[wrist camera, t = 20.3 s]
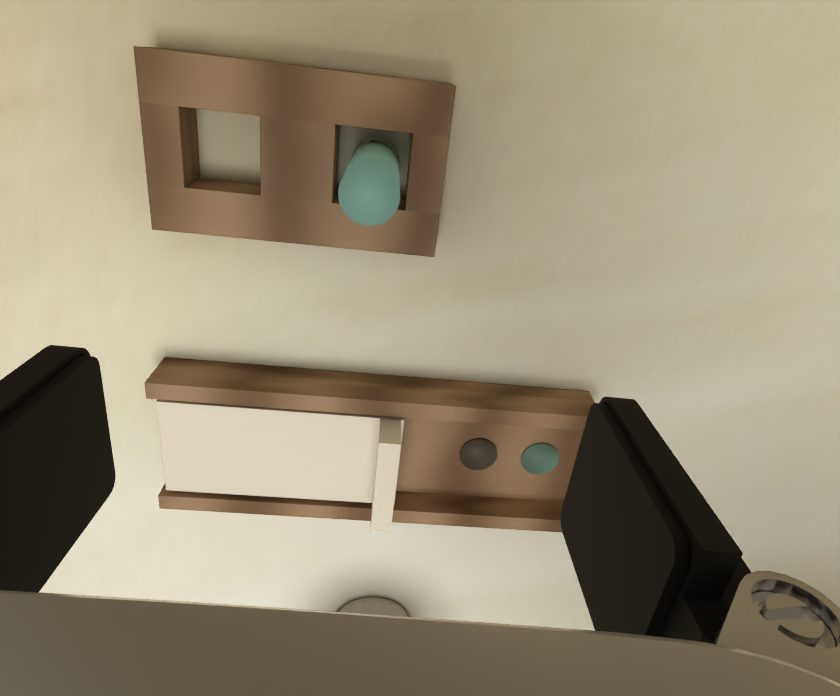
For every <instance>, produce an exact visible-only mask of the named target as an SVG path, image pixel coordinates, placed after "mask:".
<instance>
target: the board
mask: <svg viewBox="0 0 840 696" xmlns="http://www.w3.org/2000/svg"><path fill="white" fill-rule="evenodd" d="M145 391H146V398H148V399H161V400H174V401H188V402H201V403H215V404H228V405H242V406H255V407H269V408H282V409H295V410H309V411H322V412H336V413H349V414H363V415H376V416H389V417H403V418H404V426H403V435H402V443H401V452H400V460H399V469H398V477H397V486H396V494H395V502H394V508H393V517H392V522H399V523H416V524H432V525H449V526H466V527H483V528H500V529H516V530H533V531H550V532H562V529H561V522H560V517H561V510H562V506H563V502H564V499H565V495H566V492H567V488H568V484H569V481H570V477H571V474H572V470H573V467H574V463H575V459H576V456H577V452H578V449H579V445H580V442H581V438H582V434H583V431H584V427H585V424H586V420H587V417H588V413H589V410H590V407H591V405H592V404H593V403H595V402H594V400H593V399H592V397H591V395H590V393H589V392H588V391H577V390H565V389H552V388H540V387H527V386H515V385H502V384H490V383H477V382H465V381H452V380H440V379H427V378H415V377H403V376H390V375H378V374H365V373H353V372H340V371H328V370H315V369H303V368H290V367H278V366H265V365H253V364H240V363H228V362H216V361H203V360H191V359H178V358H166V357H165V358H164V359H163V360H162V361H161V363H160V364H159V365H158V366H157V368H156V369H155V370H154V371H153V373H152V374H151V375H150V377H149V378H148V379H147V380H146V382H145ZM158 498H159V506H160V508H163V509H180V510H197V511H214V512H231V513H247V514H264V515H281V516H298V517H315V518H331V519H348V520H365V521H371V513H372V503H364V502H348V501H332V500H316V499H300V498H284V497H268V496H252V495H235V494H219V493H203V492H187V491H171V490H166V484H165V485H164V486H163V488H162V490H161V492H160V494H159V495H158Z"/></svg>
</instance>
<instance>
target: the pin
mask: <svg viewBox="0 0 840 696" xmlns="http://www.w3.org/2000/svg"><path fill="white" fill-rule="evenodd" d="M338 198H339V203H340V206H341V208H342V210H343V211H344V213H345V214H346V215H347V216H348V217H349V218H350V219H351V220H353V221H354V222H356V223H358V224H361V225H365V226H375V225H379V224H382V223H384V222H386V221H388V220H389V219H390V218H391V217H392V216H393V215H394V213H395V212H396V210H397V208H398V206H399V202H400V166H399V156H398V153H397V151H396V149H395V148H394V147H393V145H391V144H390V143H389V142H388V141H386V140H384V139H380V138H370V139H367V140H365V141H363V142H362V143H361V144H359V146H358V147H357V148H356V150H355V152H354V154H353V156H352V158H351V161H350V163H349V165H348V167H347V169H346V171H345V173H344V175H343V177H342V180H341V182H340V185H339V189H338Z"/></svg>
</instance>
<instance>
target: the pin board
mask: <svg viewBox="0 0 840 696" xmlns="http://www.w3.org/2000/svg"><path fill="white" fill-rule="evenodd" d="M134 56H135V65H136V75H137V85H138V95H139V105H140V115H141V125H142V135H143V144H144V154H145V164H146V174H147V184H148V194H149V204H150V214H151V223H152V229H153V230H163V231H173V232H183V233H194V234H204V235H214V236H224V237H235V238H245V239H255V240H265V241H276V242H286V243H296V244H306V245H317V246H327V247H337V248H347V249H358V250H368V251H378V252H388V253H399V254H409V255H419V256H429V257H434V255H435V248H436V240H437V232H438V224H439V216H440V208H441V200H442V193H443V185H444V177H445V169H446V161H447V153H448V145H449V138H450V130H451V122H452V114H453V106H454V98H455V90H456V86H455V85H453V84H448V83H440V82H432V81H423V80H415V79H407V78H399V77H391V76H383V75H375V74H366V73H358V72H350V71H342V70H334V69H326V68H317V67H309V66H301V65H293V64H285V63H277V62H268V61H260V60H252V59H244V58H236V57H228V56H220V55H211V54H203V53H195V52H187V51H179V50H171V49H162V48H154V47H137V46H134ZM196 108H197V109H206V110H215V111H224V112H232V113H241V114H250V115H258V116H260V163H261V185H257V184H247V183H238V182H228V181H219V180H209V179H200V170H199V153H198V137H197V120H196ZM340 125H345V126H354V127H363V128H371V129H380V130H389V131H398V132H406V133H412V134H411V144H410V155H409V165H408V175H407V185H406V195H405V200H400V202H399V206H398V208H397V210H396V212H395V213H394V215H393V216H392V217H391V218H390V219H389V220H388V221H386V222H384V223H382V224H379V225H375V226H365V225H361V224H358V223H356V222H354V221H353V220H351V219H350V218H349V217H348V216H347V215H346V214H345V213H344V211H343V210H342V208H341V206H340V203H339V198H338V193H337V175H338V153H339V131H340Z"/></svg>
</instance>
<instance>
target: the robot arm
mask: <svg viewBox="0 0 840 696" xmlns="http://www.w3.org/2000/svg"><path fill="white" fill-rule="evenodd" d="M114 483H115V468H114V461H113V454H112V448H111V441H110V434H109V427H108V420H107V413H106V406H105V399H104V392H103V385H102V378H101V371H100V365H99V361H98V360H97V358H95V357H91V356H90V354H89V352H88V351H87V350H86V349H85V348H77V347H66V346H56V345H50V346H47V347H46V348H44V349H43V350H41V351H40V352H39V353H37V354H36V355H35V356H33V357H32V358H30V359H29V360H28V361H26V362H25V363H24V364H22V365H21V366H19V367H18V368H17V369H15V370H14V371H13V372H11V373H10V374H8V375H7V376H6V377H4V378H3V379H2V380H0V696H840V609H839V608H838V607H837V606H836V605H835V604H834V603H833V602H832V601H830V600H829V599H828V598H827V597H826V596H824V595H823V594H822V593H821V592H819V591H817V590H816V589H814V588H812V587H811V586H809V585H807V584H806V583H804V582H802V581H799V580H797V579H794V578H792V577H790V576H787V575H784V574H780V573H776V572H771V571H755V572H752V573H751V571H750V570H749V568H748V567H747V565H746V564H745V562H744V561H743V560H742V558H741V556H742V554H743V553H742V552H741V550H740V549H739V547H738V546H737V544H736V543H735V542H734V540H733V539H732V537H731V536H730V534H729V533H728V532H727V530H726V529H725V527H724V526H723V524H722V523H721V522H720V520H719V519H718V517H717V516H716V514H715V513H714V512H713V510H712V509H711V507H710V506H709V504H708V503H707V502H706V500H705V499H704V497H703V496H702V494H701V493H700V492H699V490H698V489H697V487H696V486H695V484H694V483H693V482H692V480H691V479H690V477H689V476H688V474H687V473H686V471H685V470H684V469H683V467H682V466H681V464H680V463H679V461H678V460H677V459H676V457H675V456H674V454H673V453H672V451H671V450H670V449H669V447H668V446H667V444H666V443H665V441H664V440H663V439H662V437H661V436H660V434H659V433H658V431H657V430H656V429H655V427H654V426H653V424H652V423H651V421H650V420H649V419H648V417H647V416H646V414H645V413H644V411H643V410H642V409H641V407H640V406H639V404H638V403H637V402H636V401H635V400H633V399H624V398H613V397H604V398H602V400H601V401H600V403H593V404H592V405H591V407H590V410H589V413H588V417H587V420H586V424H585V427H584V431H583V434H582V438H581V442H580V445H579V449H578V452H577V456H576V459H575V463H574V467H573V470H572V474H571V477H570V481H569V484H568V488H567V492H566V495H565V499H564V502H563V506H562V510H561V517H560V522H561V529H562V532H563V535H564V538H565V541H566V544H567V547H568V550H569V553H570V556H571V559H572V562H573V565H574V568H575V571H576V574H577V577H578V580H579V583H580V586H581V589H582V592H583V595H584V598H585V601H586V604H587V607H588V610H589V613H590V616H591V619H592V622H593V625H594V628H595V631H591V630H577V629H564V628H551V627H537V626H524V625H510V624H497V623H483V622H470V621H456V620H443V619H429V618H415V617H402V616H388V615H374V614H360V613H345V612H331V611H316V610H302V609H287V608H272V607H257V606H242V605H228V604H213V603H198V602H182V601H166V600H150V599H134V598H118V597H102V596H86V595H70V594H54V593H38V592H39V591H40V590H41V588H42V587H43V586H44V584H45V583H46V581H47V580H48V579H49V577H50V576H51V575H52V573H53V572H54V571H55V569H56V568H57V566H58V565H59V564H60V562H61V561H62V560H63V558H64V557H65V555H66V554H67V553H68V551H69V550H70V549H71V547H72V546H73V544H74V543H75V542H76V540H77V539H78V538H79V536H80V535H81V534H82V532H83V531H84V529H85V528H86V527H87V525H88V524H89V523H90V521H91V520H92V518H93V517H94V516H95V514H96V513H97V512H98V510H99V509H100V507H101V506H102V505H103V503H104V502H105V501H106V499H107V498H108V496H109V495H110V493H111V492H112V489H113V487H114Z"/></svg>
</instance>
